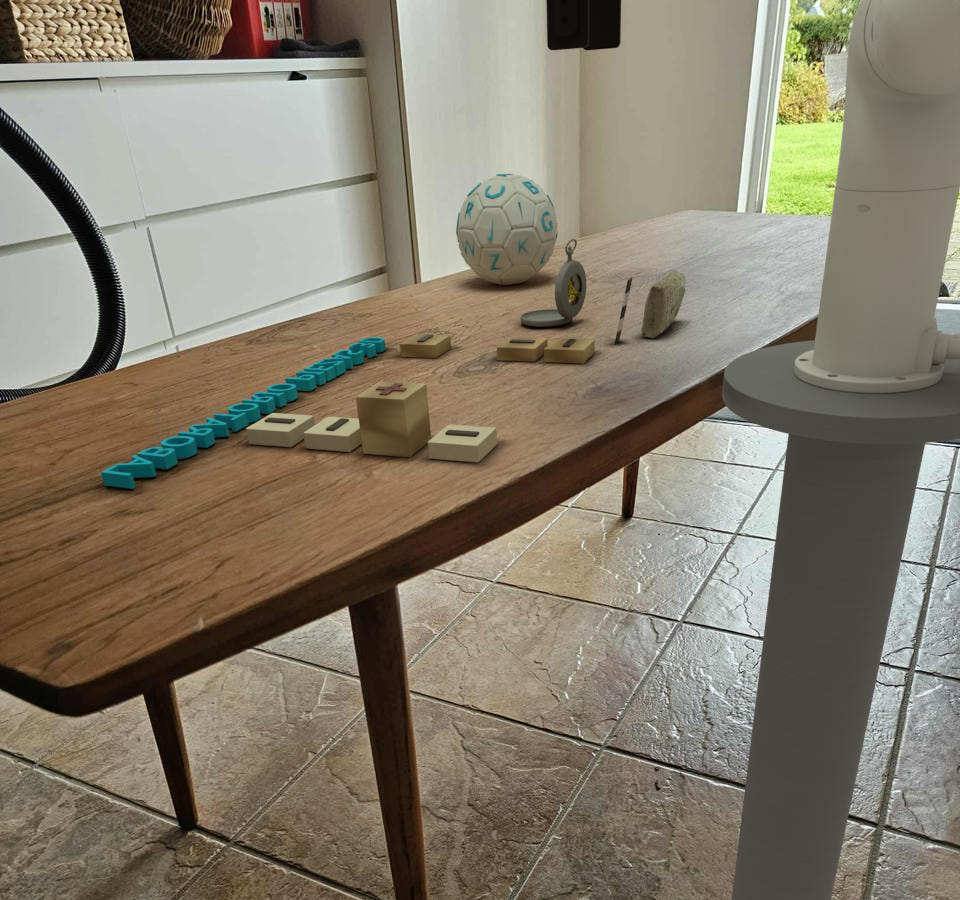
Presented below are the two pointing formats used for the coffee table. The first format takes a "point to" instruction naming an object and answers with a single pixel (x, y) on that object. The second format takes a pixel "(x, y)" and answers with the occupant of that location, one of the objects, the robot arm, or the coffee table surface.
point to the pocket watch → (562, 295)
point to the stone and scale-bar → (658, 304)
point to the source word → (507, 348)
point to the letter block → (394, 418)
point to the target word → (347, 436)
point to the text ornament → (238, 415)
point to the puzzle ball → (507, 229)
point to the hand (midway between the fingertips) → (585, 48)
